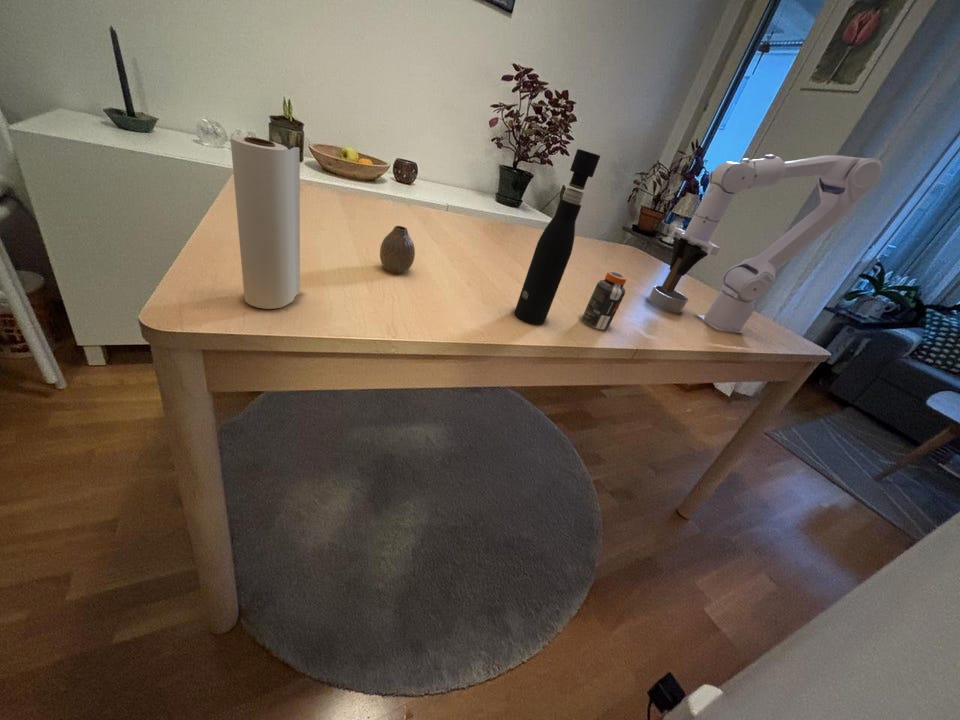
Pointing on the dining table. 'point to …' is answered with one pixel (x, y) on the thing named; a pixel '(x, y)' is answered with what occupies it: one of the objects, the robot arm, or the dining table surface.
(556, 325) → the dining table surface
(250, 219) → the paper towel roll
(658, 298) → the tin
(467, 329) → the dining table surface
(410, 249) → the vase
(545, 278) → the black water bottle
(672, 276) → the stick
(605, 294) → the pill bottle
